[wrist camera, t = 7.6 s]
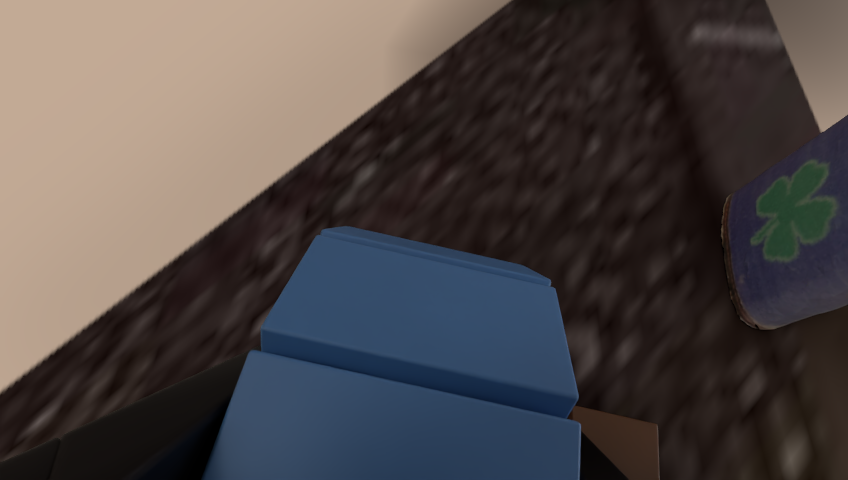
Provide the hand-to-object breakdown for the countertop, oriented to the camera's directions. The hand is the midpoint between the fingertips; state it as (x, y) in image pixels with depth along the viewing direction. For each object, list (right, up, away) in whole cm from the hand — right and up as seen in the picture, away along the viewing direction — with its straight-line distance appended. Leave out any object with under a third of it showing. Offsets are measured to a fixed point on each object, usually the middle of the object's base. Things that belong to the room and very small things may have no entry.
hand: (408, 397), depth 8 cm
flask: (+19, +2, +18) cm, 26 cm away
